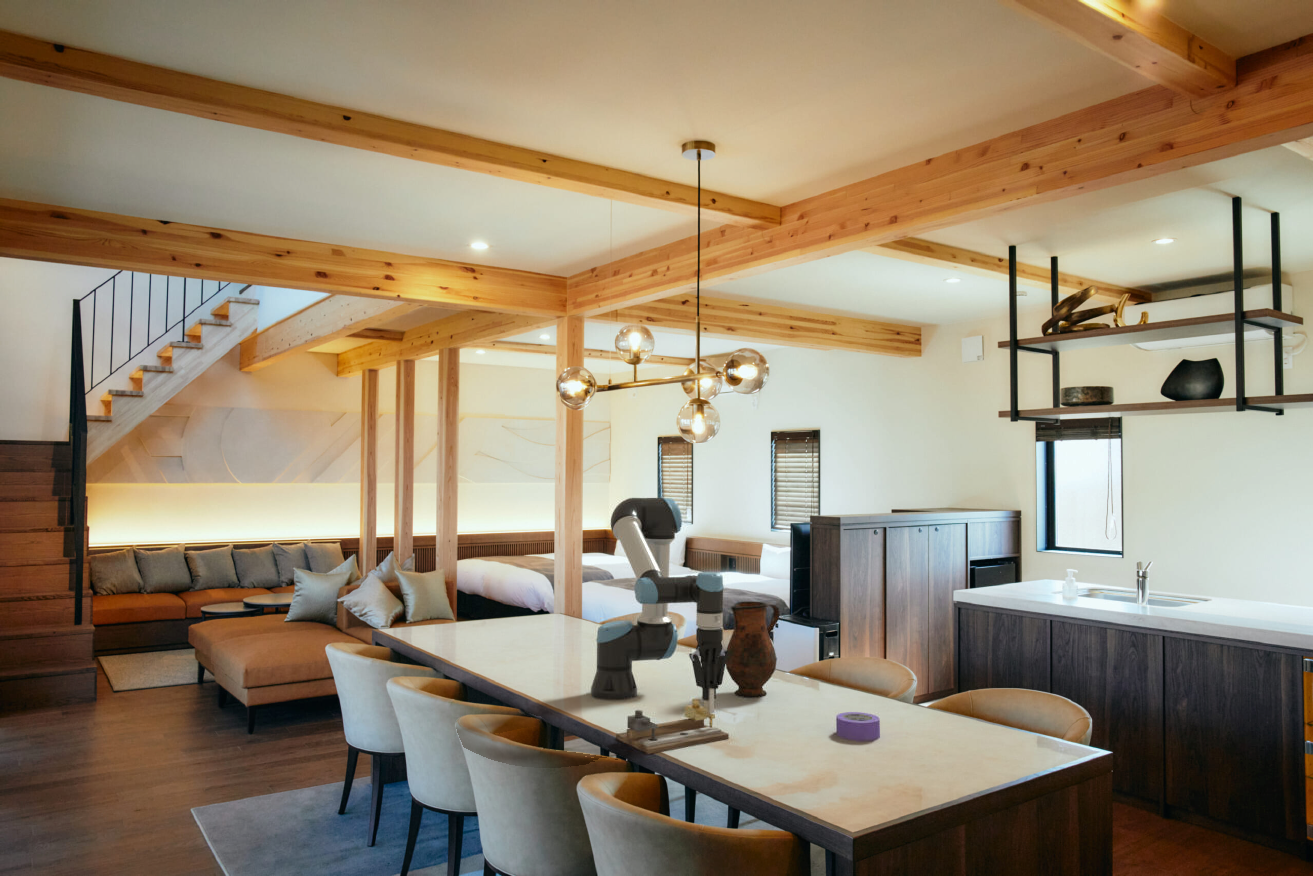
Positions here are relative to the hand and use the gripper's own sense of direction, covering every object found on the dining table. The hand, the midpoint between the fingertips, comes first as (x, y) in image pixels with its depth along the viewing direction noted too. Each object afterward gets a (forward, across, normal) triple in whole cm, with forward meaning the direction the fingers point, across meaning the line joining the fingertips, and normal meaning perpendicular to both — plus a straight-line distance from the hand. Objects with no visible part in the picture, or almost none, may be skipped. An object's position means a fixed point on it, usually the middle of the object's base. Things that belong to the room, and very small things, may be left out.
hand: (709, 711), depth 241 cm
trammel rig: (+5, -15, -3) cm, 16 cm away
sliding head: (+2, -5, -3) cm, 6 cm away
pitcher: (+5, +38, +25) cm, 46 cm away
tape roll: (+5, +31, -27) cm, 42 cm away
